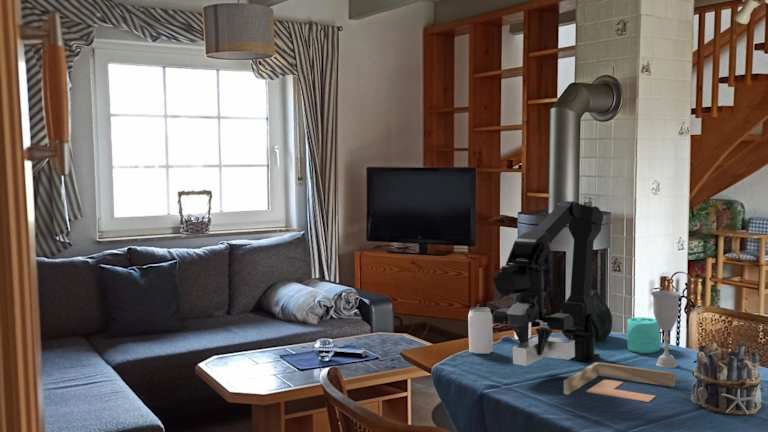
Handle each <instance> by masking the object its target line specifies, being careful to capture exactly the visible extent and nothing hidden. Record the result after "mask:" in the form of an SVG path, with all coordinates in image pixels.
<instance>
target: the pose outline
mask: <svg viewBox="0 0 768 432" xmlns="http://www.w3.org/2000/svg"><path fill="white" fill-rule="evenodd" d="M622 384H624V382H623V381H618V380H617V381H616V380H612V379H603V380H600V381H599V382H598V383H596V384H595V385H593V386H591V387H590V388H588V389H587V390H586V391H585V393H590V394H596V395H601V396H608V397H614V398H620V399H626V400H633V401H639V402H644V403H649V402H651V401H652V400H654V399H655V398H656V396H657V395H654V394H653V395H652V394H646V393H640V392H636V391H635V392H634V391H628V390H623V389H622V390H621V389H617V388H618V387H619V386H621V385H622Z"/></svg>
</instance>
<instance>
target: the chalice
mask: <svg viewBox="0 0 768 432" xmlns="http://www.w3.org/2000/svg"><path fill="white" fill-rule="evenodd" d="M650 294H651V295H652V300H653V301H652V302H653V303H652V305H653V306H652V307H653V308H652V309H653V311H652V312H653V315H654V319H656V321H657V323H658V325H659V327H660V329H661V330H662V331H663V333H664V335H663V337H662V339H663V341H664V343H663V345H662V347H663V348H664V349H663V350H664V352H663V353H662V354H660V355H659V357H658V359H657V362H656V363H655V365H656V366H657V367H660V368H663V369H666V368H667V369H672V368H673V369H674V368H676V367H678V364H677V361H676V360H675V357H674V356H673V355H671V354H670V352H669V348H670V347H671V345H670V344H669V340H670V336H669V331H671V330H673V327H674V326H675V324H676V322H677V320H678V316H679V312H680V310H679V309H680V308H679V305H680V304H679V303H680V302H679V299H680V296H681V294H682V293H681V292H679V291H674V290H654V291H651V292H650Z"/></svg>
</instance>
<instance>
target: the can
mask: <svg viewBox="0 0 768 432" xmlns="http://www.w3.org/2000/svg"><path fill="white" fill-rule="evenodd" d="M492 315H493V314H492V311H491V308H489V307H485V306H484V307H483V306H477V307H476V306H475V307H470V308H469V312H468V315H467V318H468V319H467V321H468V322H467V323H468V325H467V326H468V352H469V353H470V352H474V353H491V352H492V353H493V352H494V340H493V339H494V337H493V334H494V333H493V332H494V331H493V319H492ZM492 353H491V354H492Z"/></svg>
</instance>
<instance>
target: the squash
mask: <svg viewBox="0 0 768 432" xmlns="http://www.w3.org/2000/svg"><path fill="white" fill-rule="evenodd" d="M590 298H591V300H592V302H593V304H594V306H595V308H596V318H597V319H598V320H599V322H600V323H601V325H602V326H603V332H602V335H601V336H600V337H595V338H594V340H596V341H598V340H604V339H606V338H607V337H608V336H610V334H611V332H612V329H613V315H612V313H611V310H610V308H609V306H608V305H607V303H606V301H605V300H604V299H603V298H602V296H601V295H600V293H599V291H597V290H596V289H590ZM561 310H562V308H561ZM561 310H560V311H559V313H561ZM561 332H562V334H563V336H564V337H565V339H570V340H572V335H571V334H564V330H561Z"/></svg>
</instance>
